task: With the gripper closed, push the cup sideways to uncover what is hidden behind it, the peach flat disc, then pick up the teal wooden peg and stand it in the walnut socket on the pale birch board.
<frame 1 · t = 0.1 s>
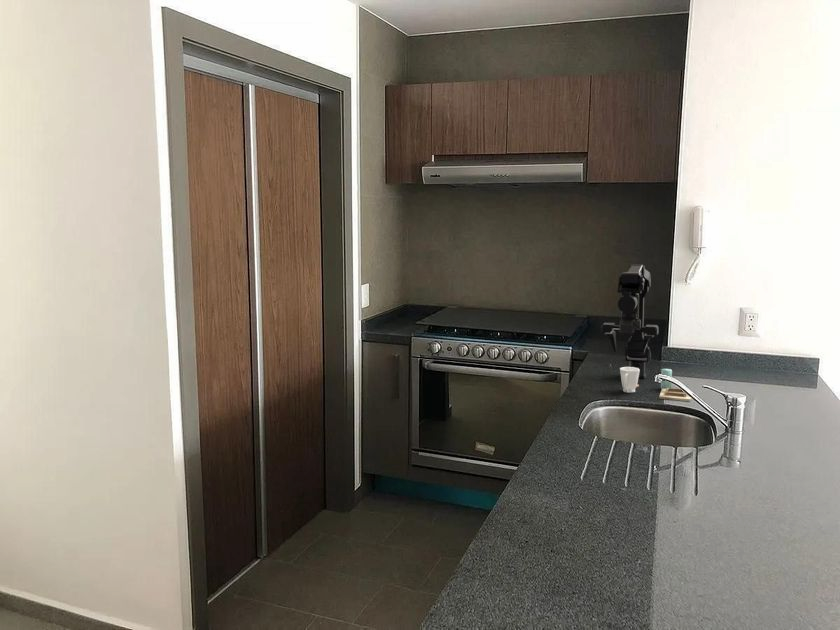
hand: (628, 353, 245), 15 cm above the worktop, fingers open, 9 cm apart
cup: (628, 392, 250), on the worktop
board: (675, 395, 243), on the worktop
peach flat disc: (631, 385, 258), on the worktop
peg: (666, 388, 253), on the worktop
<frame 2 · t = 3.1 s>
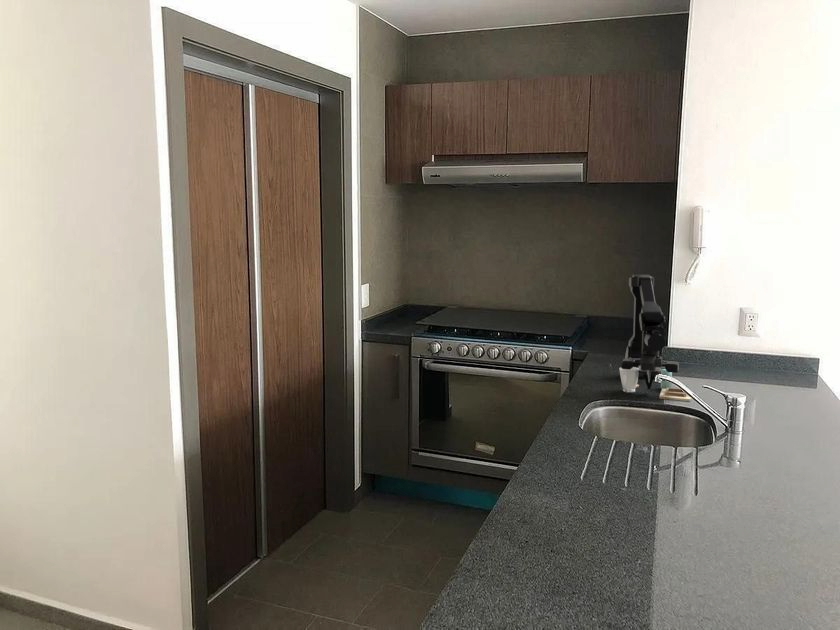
hand: (649, 389, 247), 1 cm above the worktop, fingers closed
cup: (628, 392, 250), on the worktop, touching gripper
everything else where it was.
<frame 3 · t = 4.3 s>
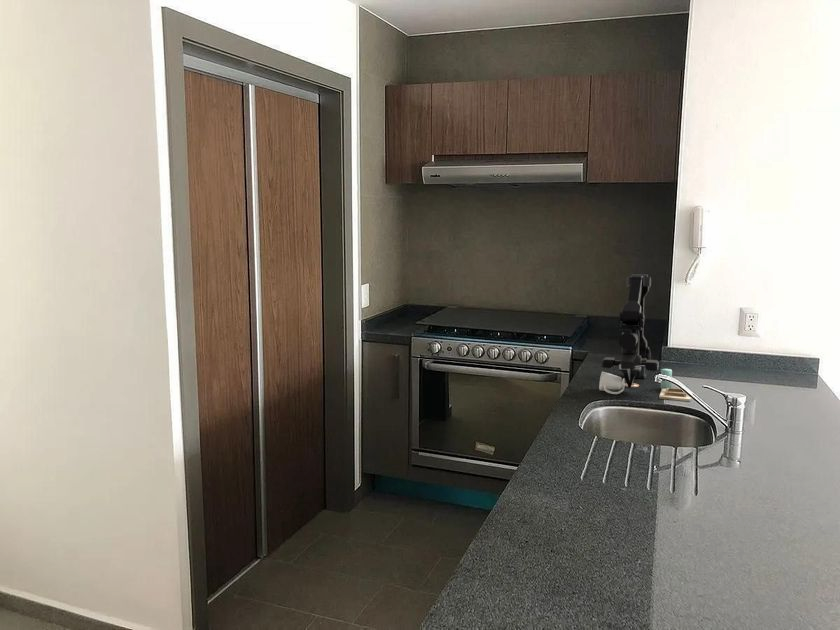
hand: (629, 387, 249), 2 cm above the worktop, fingers closed
cup: (624, 386, 250), point 2 cm above the worktop, touching gripper
everything else where it was.
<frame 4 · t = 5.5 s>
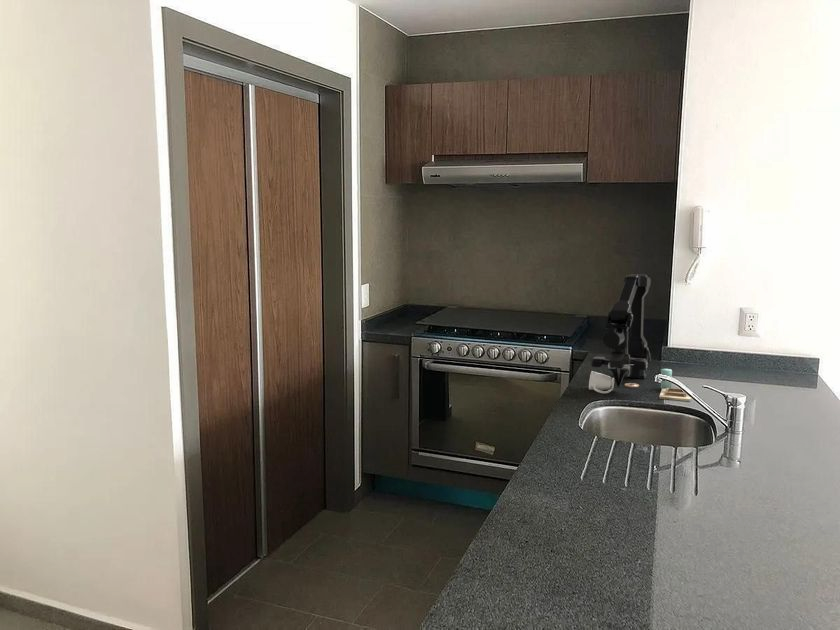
hand: (618, 386, 251), 2 cm above the worktop, fingers closed
cup: (614, 386, 251), point 2 cm above the worktop, touching gripper
everything else where it was.
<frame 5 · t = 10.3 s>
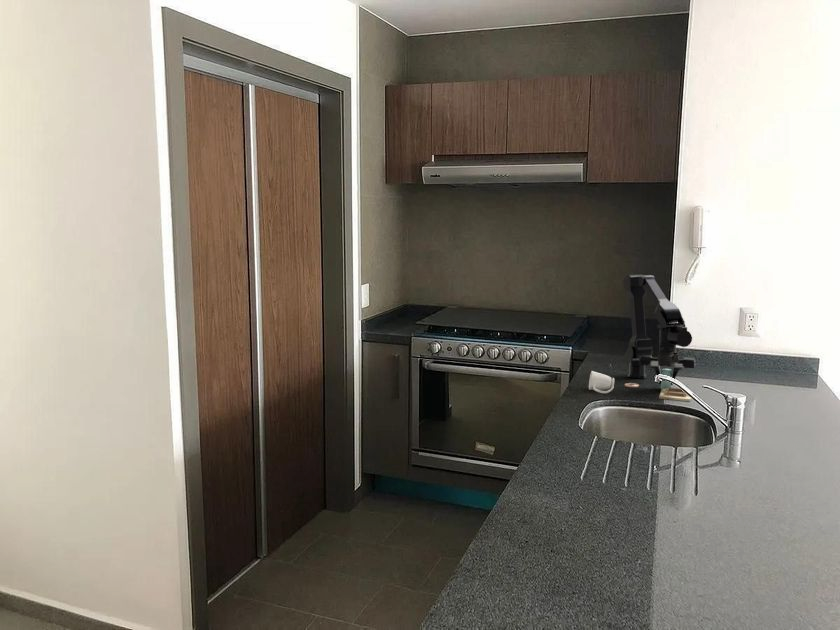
hand: (666, 384, 253), 2 cm above the worktop, fingers closed on peg, 4 cm apart
cup: (613, 386, 251), point 2 cm above the worktop
peg: (666, 388, 253), on the worktop, touching gripper
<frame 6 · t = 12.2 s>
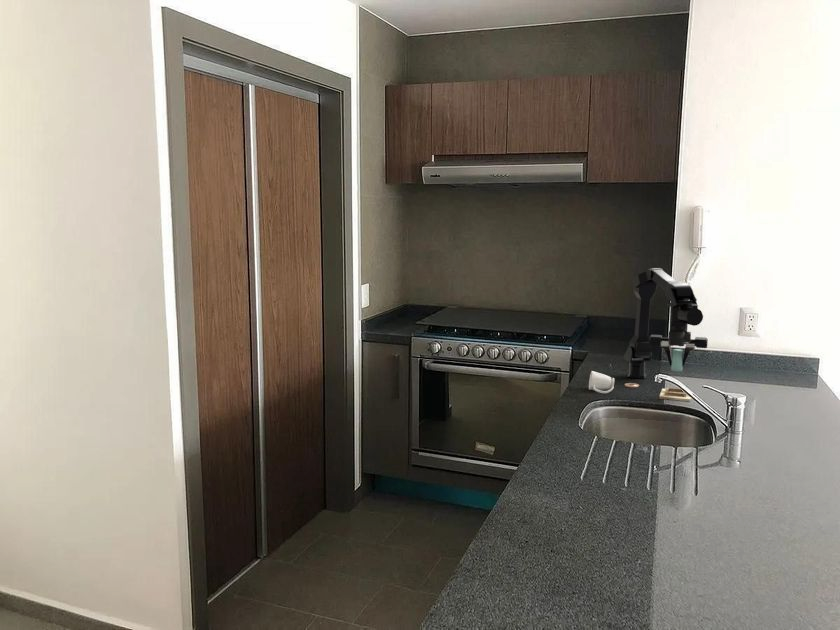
hand: (676, 365, 242), 11 cm above the worktop, fingers closed on peg, 4 cm apart
peg: (676, 370, 242), point 9 cm above the worktop, touching gripper
everything else where it was.
when the fingers open (3 cm above the worktop, at t = 14.1 s): peg stays where it is, resting on board.
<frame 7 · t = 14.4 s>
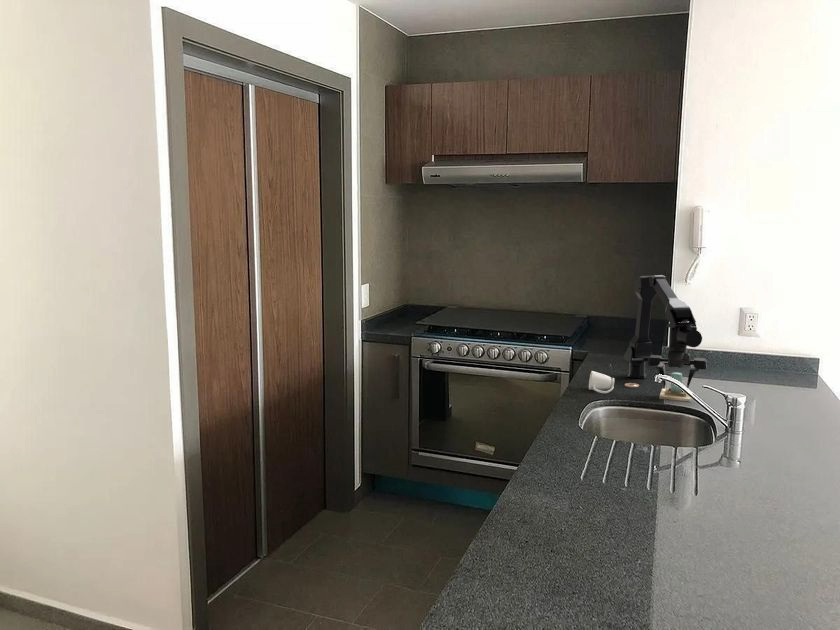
hand: (676, 386, 243), 3 cm above the worktop, fingers open, 7 cm apart
peg: (675, 393, 243), point 1 cm above the worktop, touching board
everything else where it was.
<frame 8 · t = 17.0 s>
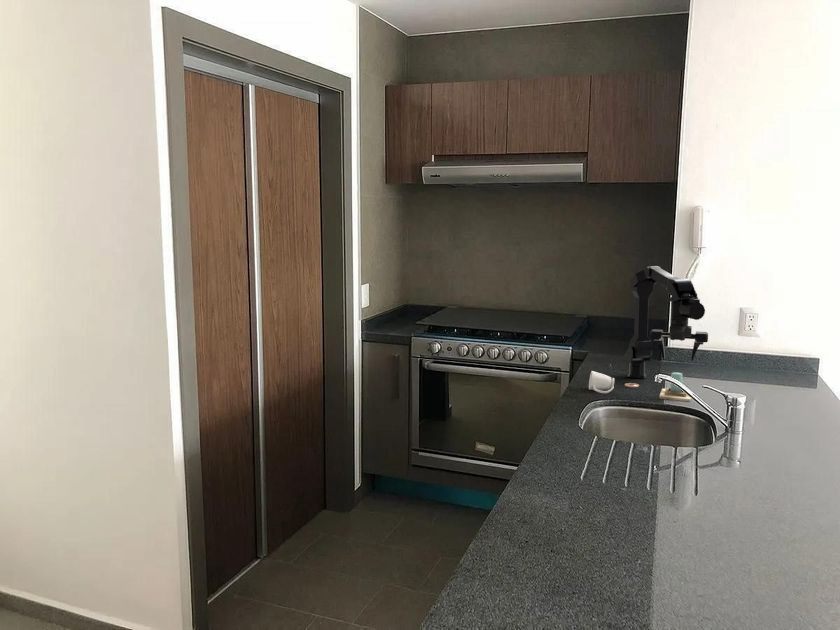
hand: (677, 360, 244), 12 cm above the worktop, fingers open, 9 cm apart
nothing on the worktop moved.
at the end: cup moved 5.2 cm from its start; peg 0.0 cm off-centre on the board, point 0.8 cm above the board's base; peg tilted 1° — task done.
